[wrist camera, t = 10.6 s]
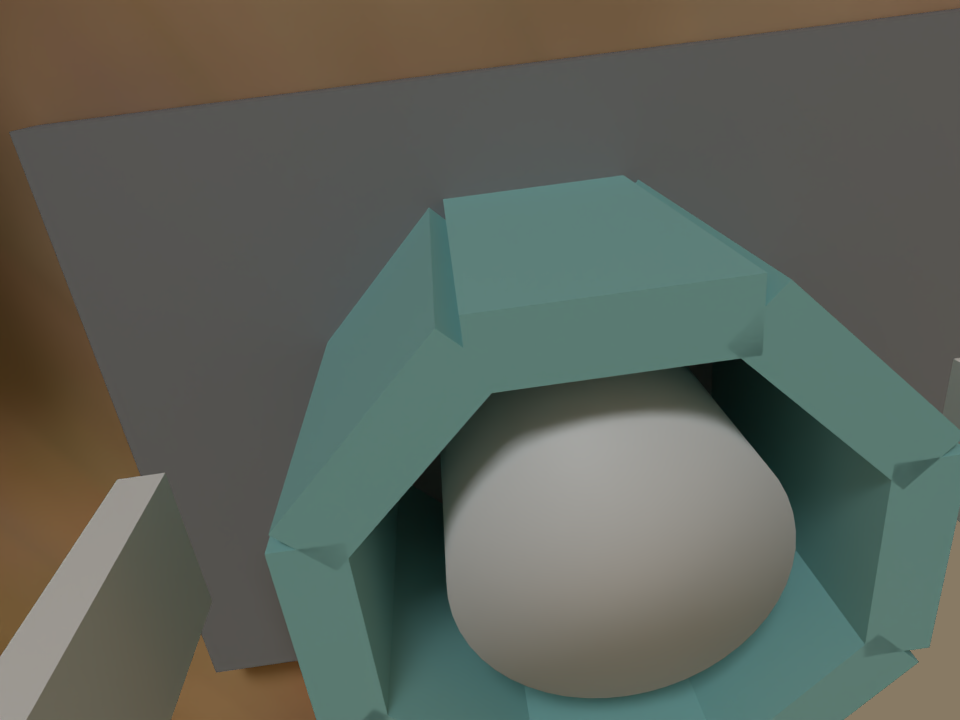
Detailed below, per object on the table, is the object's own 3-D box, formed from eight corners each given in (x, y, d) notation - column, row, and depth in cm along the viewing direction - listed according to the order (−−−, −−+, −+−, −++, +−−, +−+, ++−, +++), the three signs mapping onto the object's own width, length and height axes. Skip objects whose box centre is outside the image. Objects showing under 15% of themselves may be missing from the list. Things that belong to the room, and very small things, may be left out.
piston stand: (226, 640, 18) (134, 925, 12) (37, 125, 13) (-284, 199, 7) (897, 544, 19) (1114, 776, 13) (992, 4, 13) (1449, -23, 7)
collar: (378, 588, 17) (358, 853, 11) (292, 219, 13) (200, 350, 8) (748, 535, 17) (902, 770, 12) (770, 155, 13) (1017, 239, 8)
